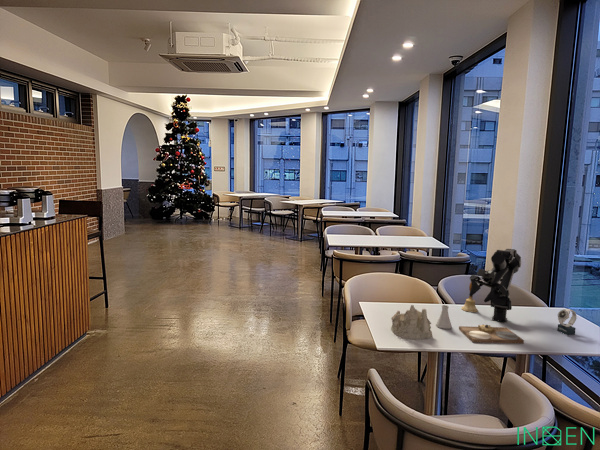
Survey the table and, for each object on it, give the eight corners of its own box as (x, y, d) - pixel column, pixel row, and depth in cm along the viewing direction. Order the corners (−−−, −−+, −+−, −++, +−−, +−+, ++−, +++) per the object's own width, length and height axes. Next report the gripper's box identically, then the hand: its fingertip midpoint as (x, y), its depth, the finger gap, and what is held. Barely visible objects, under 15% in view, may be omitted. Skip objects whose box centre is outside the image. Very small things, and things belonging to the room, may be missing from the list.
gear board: (458, 329, 194) (459, 321, 193) (506, 330, 194) (506, 322, 194) (472, 342, 179) (473, 334, 179) (523, 343, 179) (524, 335, 179)
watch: (553, 330, 196) (556, 308, 194) (568, 329, 198) (570, 307, 196) (563, 335, 190) (566, 311, 189) (578, 334, 192) (581, 311, 191)
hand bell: (475, 308, 227) (478, 279, 225) (479, 313, 219) (482, 283, 217) (459, 306, 228) (461, 278, 226) (463, 311, 220) (465, 282, 218)
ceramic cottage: (437, 338, 182) (437, 304, 181) (401, 341, 179) (401, 307, 178) (419, 327, 197) (419, 296, 196) (387, 330, 194) (386, 298, 193)
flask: (453, 330, 193) (454, 309, 192) (436, 328, 194) (438, 307, 193) (450, 324, 200) (452, 304, 199) (434, 323, 201) (436, 303, 200)
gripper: (473, 258, 204) (454, 282, 202) (504, 267, 187) (483, 294, 185) (485, 272, 208) (466, 296, 206) (516, 282, 191) (496, 309, 189)
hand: (477, 298), depth 196 cm, fingers open, 9 cm apart
